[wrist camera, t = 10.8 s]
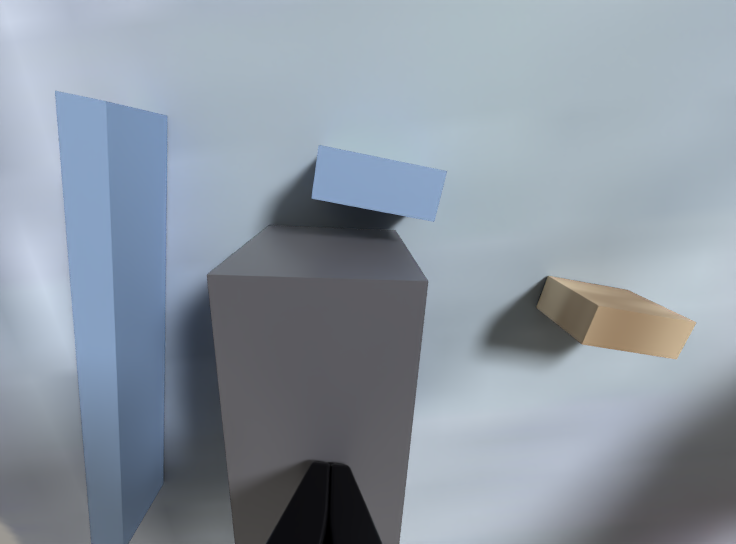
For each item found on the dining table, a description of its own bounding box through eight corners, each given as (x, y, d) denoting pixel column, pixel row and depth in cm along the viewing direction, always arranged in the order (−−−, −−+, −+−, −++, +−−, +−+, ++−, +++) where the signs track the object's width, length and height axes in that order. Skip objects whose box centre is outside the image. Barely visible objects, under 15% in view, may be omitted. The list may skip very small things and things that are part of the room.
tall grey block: (394, 229, 11) (428, 281, 6) (378, 447, 14) (393, 596, 9) (270, 224, 11) (207, 274, 6) (279, 447, 14) (240, 600, 9)
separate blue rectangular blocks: (425, 168, 10) (446, 171, 8) (347, 501, 14) (346, 569, 12) (129, 108, 9) (54, 90, 7) (137, 481, 14) (91, 548, 11)
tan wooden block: (849, -197, 8) (1056, -345, 6) (613, 320, 12) (676, 359, 10) (740, -237, 8) (909, -410, 5) (536, 307, 12) (582, 344, 10)
